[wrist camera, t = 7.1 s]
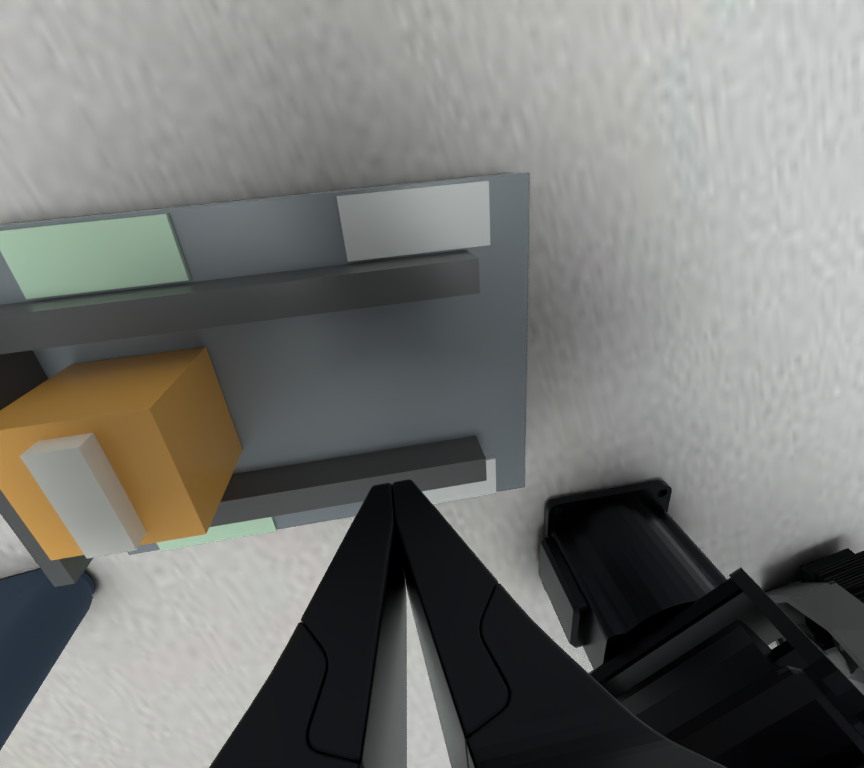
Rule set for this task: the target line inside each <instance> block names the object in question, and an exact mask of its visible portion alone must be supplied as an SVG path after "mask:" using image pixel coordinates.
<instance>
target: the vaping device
mask: <svg viewBox="0 0 864 768" xmlns="http://www.w3.org/2000/svg"><path fill="white" fill-rule="evenodd" d="M94 590H95V586H94V583H93V581H92V579H91V578H90V577H89V576H88V575H87V574H86V573H85V572H83V573H82V575H81V576H80V577H79V579H78V580H77V582H76V583H75V584H69V585H63V586H57V587H54V586H53V584H52V583H51V582H50V580H49V579H48V577H47V576H46V575H45V573H44V572H43V571H42V569H40V570H36V571H32V572H28V573H25V574H21V575H17V576H14V577H10V578H6V579H3V580H0V750H1V748H2V747H3V745H4V744H5V742H6V740H7V739H8V737H9V736H10V734H11V732H12V731H13V729H14V728H15V726H16V724H17V723H18V721H19V720H20V718H21V716H22V715H23V713H24V712H25V710H26V708H27V707H28V705H29V704H30V702H31V700H32V699H33V697H34V696H35V694H36V693H37V691H38V689H39V688H40V686H41V685H42V683H43V681H44V680H45V678H46V677H47V675H48V673H49V672H50V670H51V669H52V667H53V665H54V664H55V662H56V661H57V659H58V657H59V656H60V654H61V653H62V651H63V649H64V648H65V646H66V645H67V643H68V642H69V640H70V638H71V637H72V635H73V634H74V632H75V630H76V629H77V627H78V626H79V624H80V622H81V621H82V619H83V618H84V616H85V614H86V613H87V611H88V610H89V607H90V605H91V602H92V598H93V597H92V594H93V592H94Z"/></svg>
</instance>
